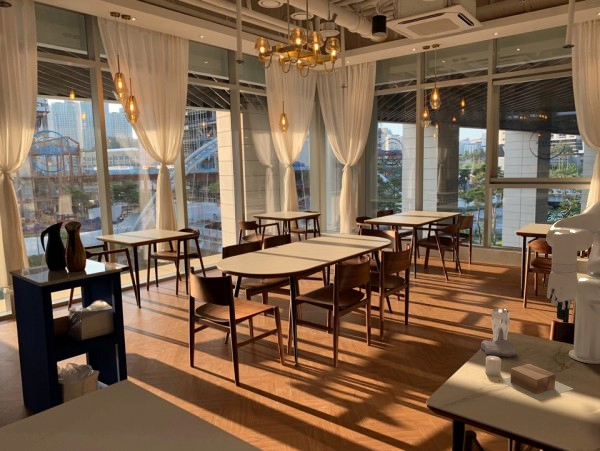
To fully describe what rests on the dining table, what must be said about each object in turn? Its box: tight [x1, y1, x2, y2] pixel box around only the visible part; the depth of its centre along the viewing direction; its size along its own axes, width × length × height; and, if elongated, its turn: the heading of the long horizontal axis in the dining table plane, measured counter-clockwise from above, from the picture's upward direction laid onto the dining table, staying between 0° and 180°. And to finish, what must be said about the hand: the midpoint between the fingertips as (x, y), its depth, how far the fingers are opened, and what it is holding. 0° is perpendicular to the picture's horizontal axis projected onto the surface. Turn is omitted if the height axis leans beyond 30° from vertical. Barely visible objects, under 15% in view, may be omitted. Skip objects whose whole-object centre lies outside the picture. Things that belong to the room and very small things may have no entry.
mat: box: [497, 376, 574, 401], centre depth 160 cm, size 17×16×1 cm
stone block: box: [480, 339, 517, 357], centre depth 190 cm, size 12×5×10 cm
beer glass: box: [491, 307, 511, 341], centre depth 197 cm, size 7×7×15 cm
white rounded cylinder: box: [484, 355, 502, 377], centre depth 169 cm, size 5×5×6 cm
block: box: [510, 363, 556, 394], centre depth 159 cm, size 5×10×9 cm
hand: (562, 319), depth 163 cm, fingers closed
